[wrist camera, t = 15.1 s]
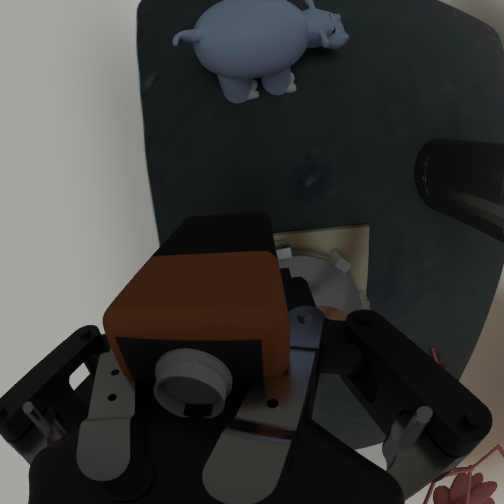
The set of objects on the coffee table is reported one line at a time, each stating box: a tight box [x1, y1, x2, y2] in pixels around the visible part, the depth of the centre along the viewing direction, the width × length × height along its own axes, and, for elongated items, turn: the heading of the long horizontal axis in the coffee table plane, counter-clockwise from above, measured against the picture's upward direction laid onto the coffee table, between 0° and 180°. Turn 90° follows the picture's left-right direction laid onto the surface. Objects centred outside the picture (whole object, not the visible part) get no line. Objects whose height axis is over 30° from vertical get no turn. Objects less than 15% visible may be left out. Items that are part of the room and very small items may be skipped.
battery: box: [103, 213, 290, 418], centre depth 10 cm, size 4×7×10 cm, turn 3°
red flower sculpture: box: [423, 347, 504, 504], centre depth 23 cm, size 15×26×35 cm, turn 99°
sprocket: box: [275, 240, 370, 321], centre depth 29 cm, size 20×18×7 cm
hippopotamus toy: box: [173, 0, 349, 103], centre depth 18 cm, size 11×15×10 cm
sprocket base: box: [273, 224, 369, 295], centre depth 32 cm, size 19×20×4 cm
